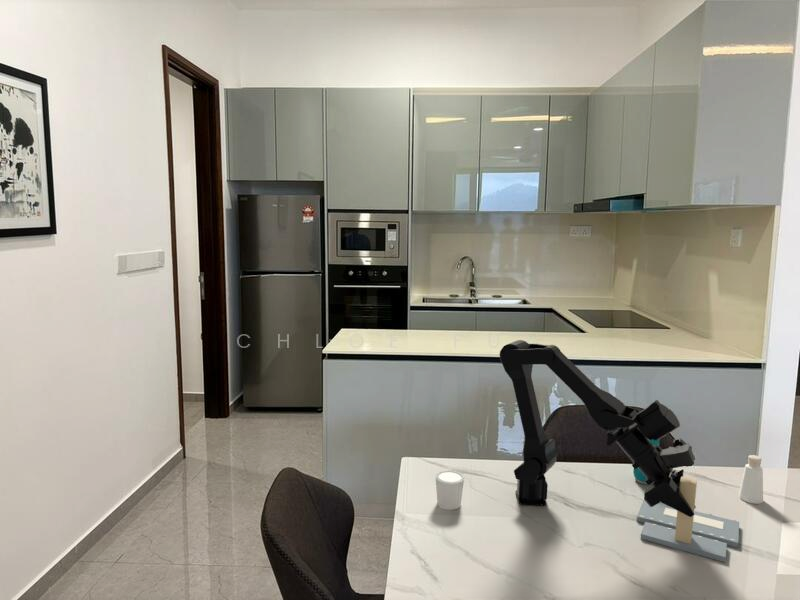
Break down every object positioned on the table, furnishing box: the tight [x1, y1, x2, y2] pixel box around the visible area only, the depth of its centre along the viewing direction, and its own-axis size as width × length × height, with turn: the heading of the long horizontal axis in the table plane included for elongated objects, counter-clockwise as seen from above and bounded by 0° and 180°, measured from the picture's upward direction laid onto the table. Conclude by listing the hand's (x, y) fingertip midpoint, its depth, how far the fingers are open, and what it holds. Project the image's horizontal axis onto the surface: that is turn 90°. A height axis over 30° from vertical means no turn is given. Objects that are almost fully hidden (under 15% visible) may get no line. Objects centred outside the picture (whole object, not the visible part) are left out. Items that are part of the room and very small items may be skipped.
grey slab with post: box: [640, 476, 728, 563], centre depth 122 cm, size 16×6×14 cm, turn 59°
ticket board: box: [636, 499, 740, 549], centre depth 130 cm, size 20×10×1 cm, turn 59°
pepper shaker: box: [738, 454, 764, 505], centre depth 142 cm, size 5×5×11 cm
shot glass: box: [435, 470, 465, 511], centre depth 138 cm, size 7×7×7 cm
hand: (693, 512), depth 121 cm, fingers closed on grey slab with post, 3 cm apart
